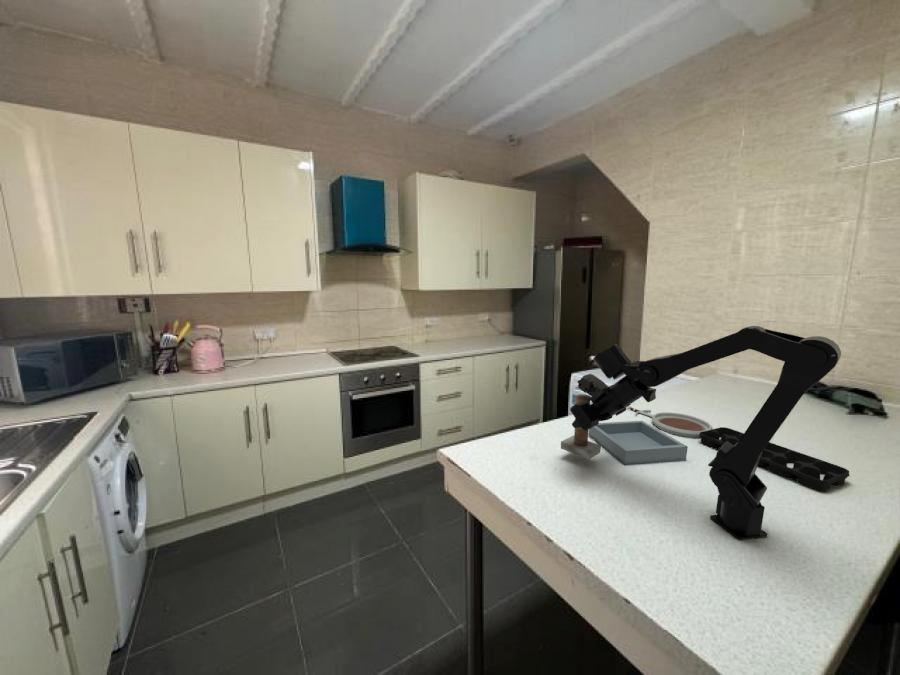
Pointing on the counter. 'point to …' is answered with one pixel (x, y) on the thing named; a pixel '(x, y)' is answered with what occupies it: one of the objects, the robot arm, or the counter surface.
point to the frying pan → (677, 423)
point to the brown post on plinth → (581, 438)
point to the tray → (637, 443)
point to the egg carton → (784, 461)
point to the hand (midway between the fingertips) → (576, 424)
